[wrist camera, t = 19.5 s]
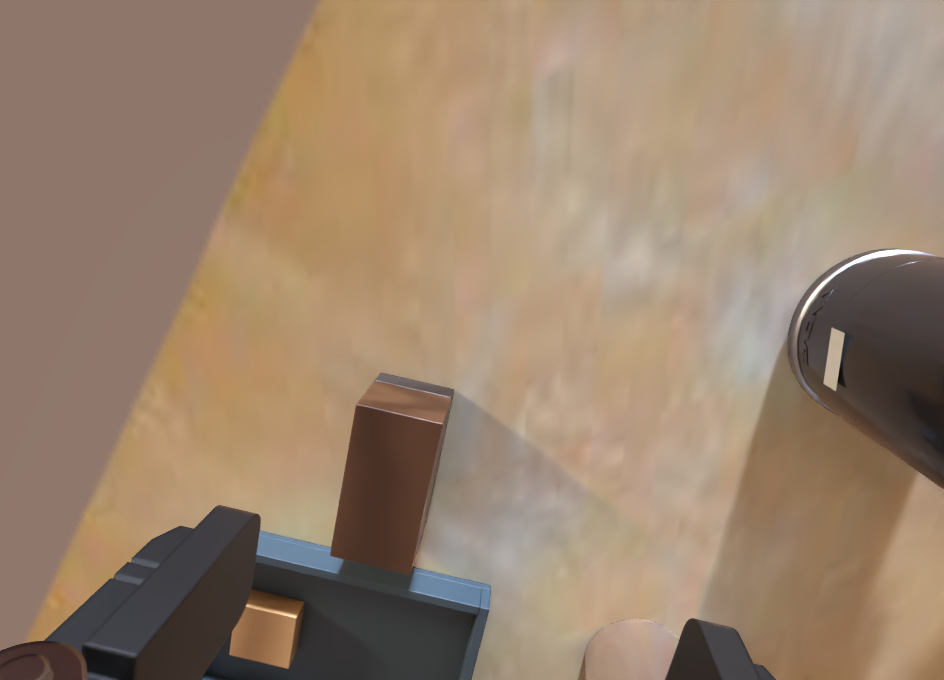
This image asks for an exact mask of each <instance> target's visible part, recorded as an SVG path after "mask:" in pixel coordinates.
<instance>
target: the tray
mask: <svg viewBox="0 0 944 680" xmlns="http://www.w3.org/2000/svg"><path fill="white" fill-rule="evenodd" d="M330 552H331V548H329V547H325V546H321V545H317V544H313V543H308V542H304V541H300V540H296V539H292V538H287V537H283V536H279V535H275V534H270V533H266V532H262V531H260V532H259V539H258V546H257V554H256V561H255V568H254V576H253V583H252V588H251V589H253V590H257V591H262V592H266V593H270V594H274V595H279V596H283V597H287V598H292V599H296V600H300V601H304V602H305V605H304V611H303V618H302V624H301V631H300V637H299V644H298V650H297V653H296V655H295V657H294V659H293V661H292V663H291V665H290V667H289V669H287V668H282V667H278V666H274V665H270V664H265V663H261V662H257V661H253V660H248V659H244V658H240V657H236V656H231V655H229V653H230V645H231V637H232V632H231V634H230V635H229V637H228V638H227V640H226V641H225V643H224V645H223V646H222V648H221V649H220V651H219V652H218V654H217V655H216V657H215V658H214V660H213V661H212V663H211V664H210V666H209V667H208V669H207V670H206V672H205V673H204V675H203V676H202V678H201V679H200V680H471V679H472V675H473V671H474V667H475V663H476V659H477V655H478V651H479V648H480V644H481V640H482V636H483V632H484V628H485V624H486V620H487V617H488V613H489V606H490V593H491V586H490V585H485V584H481V583H477V582H473V581H468V580H464V579H460V578H456V577H452V576H447V575H443V574H439V573H435V572H431V571H426V570H422V569H418V568H414V567H412V571H411V574H410V575H407V574H403V573H399V572H395V571H391V570H386V569H382V568H378V567H374V566H370V565H365V564H361V563H357V562H353V561H348V560H344V559H340V558H336V557H332V556H330Z"/></svg>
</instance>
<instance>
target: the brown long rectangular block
mask: <svg viewBox="0 0 944 680" xmlns="http://www.w3.org/2000/svg"><path fill="white" fill-rule="evenodd" d="M453 394H454V389H450V388H445V387H441V386H437V385H432V384H428V383H424V382H419V381H415V380H411V379H406V378H402V377H398V376H393V375H389V374H384V373H380V375H379V376H378V377H377V378H376V380H375V381H374V382H373V384H372V385H371V386H370V387H369V389H368V390H367V391H366V393H365V394H364V395H363V396H362V398H361V399H360V400H359V402H358V403H357V404H356V409H355V414H354V420H353V426H352V432H351V437H350V443H349V449H348V455H347V460H346V466H345V472H344V477H343V483H342V489H341V495H340V500H339V506H338V512H337V518H336V523H335V529H334V535H333V541H332V546H331V552H330V556H332V557H336V558H340V559H344V560H348V561H353V562H357V563H361V564H365V565H370V566H374V567H378V568H382V569H386V570H391V571H395V572H399V573H403V574H407V575H410V574H411V571H412V567H413V564H414V561H415V557H416V554H417V550H418V547H419V543H420V540H421V536H422V533H423V529H424V526H425V523H426V518H427V514H428V509H429V505H430V500H431V495H432V491H433V486H434V482H435V477H436V472H437V468H438V463H439V459H440V454H441V449H442V445H443V440H444V436H445V431H446V426H447V422H448V417H449V413H450V408H451V403H452V399H453Z"/></svg>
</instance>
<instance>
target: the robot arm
mask: <svg viewBox="0 0 944 680" xmlns="http://www.w3.org/2000/svg"><path fill="white" fill-rule="evenodd" d="M788 355H789V360H790V364H791V367H792V370H793V373H794V375H795V377H796V379H797V381H798V382H799V384H800V385H801V387H802V388H803V389H804V390H805V392H806V393H807V394H808V395H809V396H810V397H811V398H813V399H814V400H815V401H816V402H818V403H819V404H821V405H822V406H823V407H825V408H826V409H828V410H830V411H831V412H833V413H835V414H837V415H839V416H841V417H842V418H844V419H845V420H847V421H848V422H849V423H851V424H852V425H853V426H855V427H856V428H857V429H859V430H860V431H862V432H863V433H864V434H866V435H867V436H869V437H870V438H872V439H873V440H874V441H876V442H877V443H879V444H880V445H881V446H883V447H884V448H886V449H887V450H889V451H890V452H891V453H893V454H894V455H896V456H897V457H898V458H900V459H901V460H903V461H904V462H906V463H907V464H908V465H910V466H911V467H913V468H914V469H915V470H917V471H918V472H920V473H921V474H923V475H924V476H925V477H927V478H928V479H930V480H931V481H932V482H934V483H935V484H937V485H938V486H940V487H941V488H942V489H944V258H943V257H937V256H934V255H931V254H927V253H923V252H918V251H911V250H905V249H880V250H873V251H868V252H865V253H861V254H858V255H855V256H853V257H850V258H848V259H846V260H844V261H842V262H840V263H838V264H837V265H835V266H834V267H832V268H831V269H829V270H828V271H826V272H825V273H824V274H823V275H822V276H820V277H819V278H818V279H817V280H816V281H815V282H814V283H813V284H812V285H811V286H810V288H809V289H808V290H807V292H806V293H805V294H804V296H803V297H802V299H801V300H800V302H799V304H798V306H797V308H796V310H795V312H794V315H793V317H792V320H791V324H790V328H789V333H788ZM260 521H261V520H260V516H259V514H255V513H251V512H247V511H242V510H238V509H234V508H230V507H226V506H221V505H219V506H217V507H215V508H214V509H213V510H212V511H211V512H210V513H209V514H208V515H207V516H206V517H205V518H204V519H203V520H202V521H201V522H200V523H199V524H198V525H197V526H196V527H195V528H194V529H192V528H188V527H184V526H179V527H177V528H174V529H172V530H170V531H168V532H166V533H164V534H162V535H160V536H158V537H156V538H154V539H152V540H151V541H150V542H149V543H147V544H146V545H145V546H144V547H143V548H142V549H141V550H140V551H139V552H138V553H137V554H136V555H135V556H134V557H133V558H132V560H131V562H127V563H126V564H125V565H124V566H123V567H122V568H121V569H120V570H119V571H118V572H117V573H116V574H115V576H114V578H113V579H111V578H110V579H109V580H108V581H107V582H106V583H105V584H104V585H103V586H102V587H101V588H100V589H99V590H97V591H96V592H95V593H94V594H93V595H92V596H91V597H90V598H89V599H88V600H87V601H86V602H85V603H84V604H83V605H82V606H80V607H79V608H78V609H77V610H76V611H75V612H74V613H73V614H72V615H71V616H70V617H69V618H68V619H67V620H66V621H65V622H63V623H62V624H61V625H60V626H59V627H58V628H57V629H56V630H55V631H54V632H53V633H52V634H51V635H50V636H49V637H47V638H46V639H45V640H44V641H35V642H29V643H23V644H19V645H16V646H12V647H10V648H7V649H4V650H1V651H0V680H200V679H201V678H202V676H203V675H204V673H205V672H206V670H207V669H208V667H209V666H210V664H211V663H212V661H213V660H214V658H215V657H216V655H217V654H218V652H219V651H220V649H221V648H222V646H223V645H224V643H225V641H226V640H227V638H228V637H229V635H230V634H231V632H232V631H233V629H234V628H235V626H236V625H237V623H238V622H239V620H240V618H241V616H242V614H243V612H244V610H245V607H246V605H247V602H248V599H249V596H250V593H251V588H252V583H253V576H254V568H255V561H256V554H257V546H258V539H259V532H260ZM665 680H776V679H775V678H774V677H773V676H772V675H771V674H770V673H769V672H768V671H767V669H766V668H765V667H764V666H762V665H757V664H753V662H752V660H751V658H750V656H749V654H748V652H747V650H746V647H745V645H744V643H743V641H742V639H741V637H740V635H739V634H738V632H737V631H736V630H735V629H734V628H731V627H727V626H723V625H719V624H714V623H710V622H706V621H702V620H697V619H693V618H692V619H689V620H688V621H687V622H686V624H685V626H684V628H683V631H682V634H681V637H680V639H679V642H678V645H677V648H676V651H675V653H674V656H673V659H672V662H671V665H670V667H669V670H668V673H667V676H666V678H665Z"/></svg>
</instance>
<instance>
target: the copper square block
mask: <svg viewBox="0 0 944 680" xmlns="http://www.w3.org/2000/svg"><path fill="white" fill-rule="evenodd" d="M304 605H305V602H304V601H300V600H296V599H292V598H287V597H283V596H279V595H274V594H270V593H266V592H262V591H257V590H253V589H251V593H250V596H249V599H248V602H247V605H246V607H245V610H244V612H243V614H242V616H241V618H240V620H239V622H238V623H237V625H236V626H235V628H234V629H233V631H232V637H231V645H230V653H229V655H231V656H236V657H240V658H244V659H248V660H253V661H257V662H261V663H265V664H270V665H274V666H278V667H282V668H287V669H289V667H290V665H291V663H292V661H293V659H294V657H295V655H296V653H297V650H298V644H299V637H300V631H301V624H302V618H303V611H304Z"/></svg>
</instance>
